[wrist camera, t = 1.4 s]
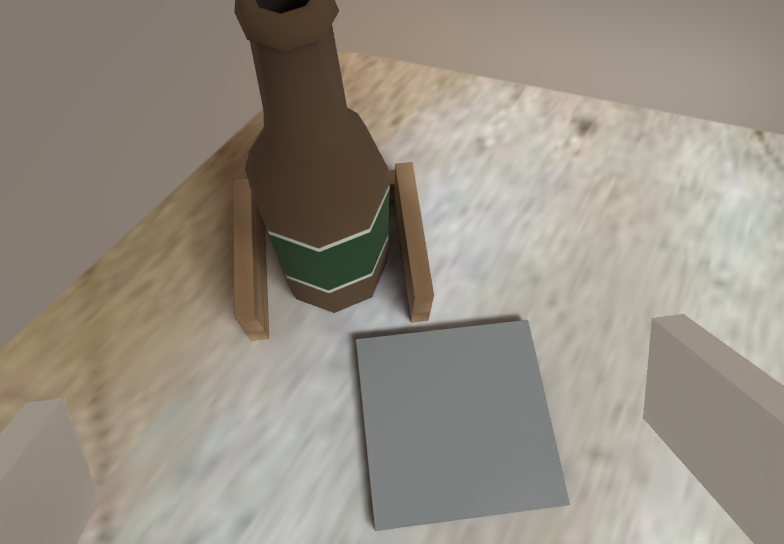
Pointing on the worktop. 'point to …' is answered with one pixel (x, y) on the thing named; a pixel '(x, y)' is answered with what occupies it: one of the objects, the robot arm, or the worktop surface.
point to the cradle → (253, 253)
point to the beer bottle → (314, 158)
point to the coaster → (457, 425)
